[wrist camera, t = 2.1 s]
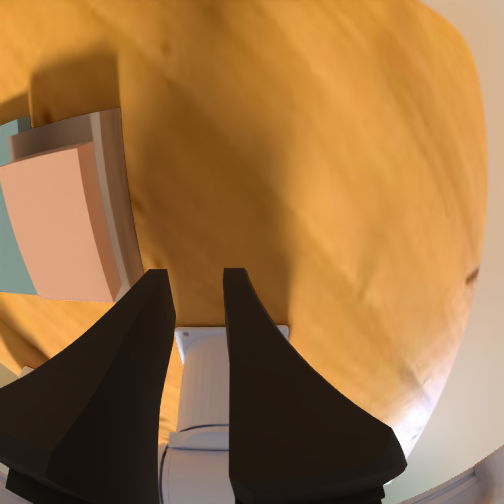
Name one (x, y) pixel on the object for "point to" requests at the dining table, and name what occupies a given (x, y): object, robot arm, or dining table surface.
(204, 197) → the dining table surface
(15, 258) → the teal rectangular slab
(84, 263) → the terracotta tile
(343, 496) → the robot arm
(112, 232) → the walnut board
